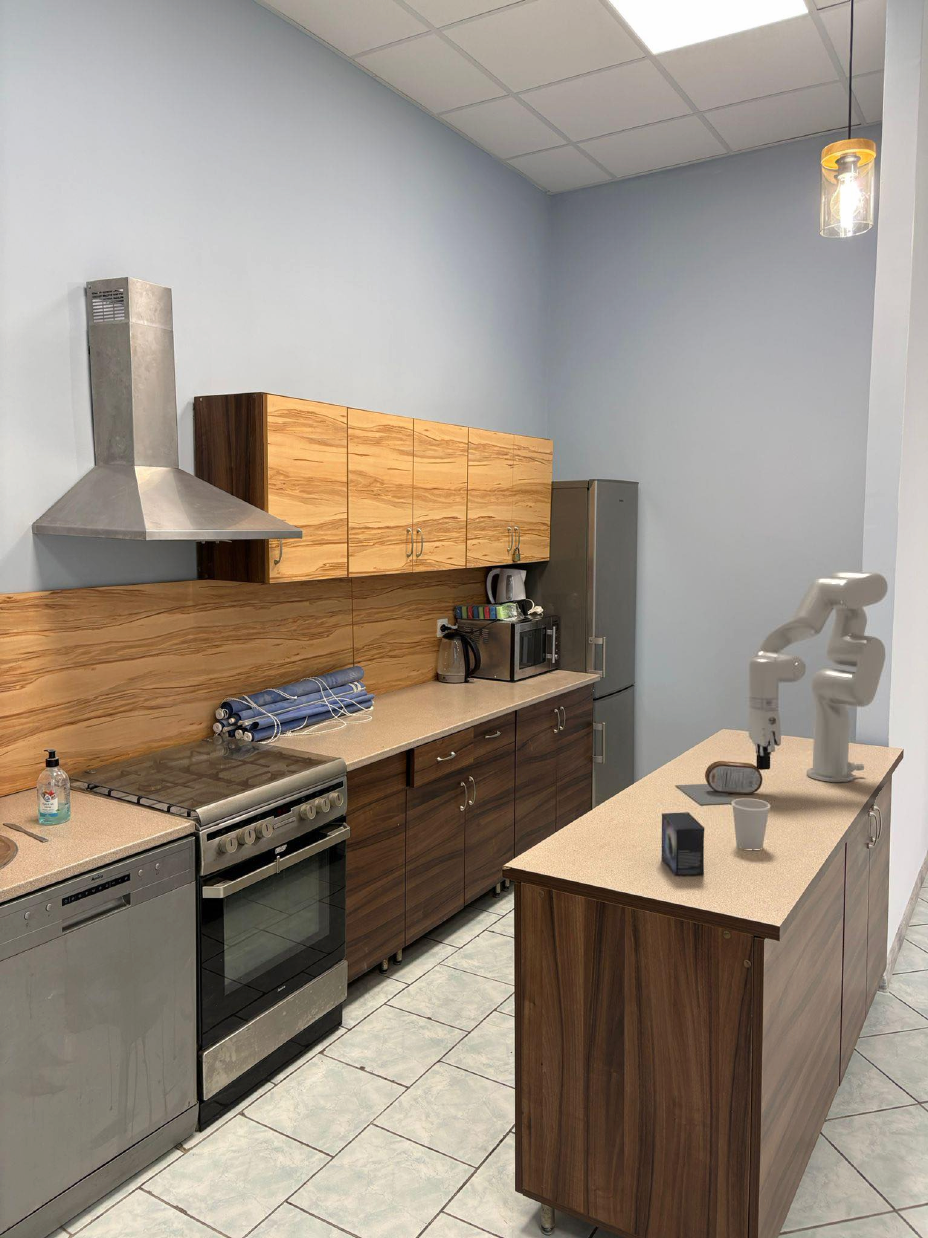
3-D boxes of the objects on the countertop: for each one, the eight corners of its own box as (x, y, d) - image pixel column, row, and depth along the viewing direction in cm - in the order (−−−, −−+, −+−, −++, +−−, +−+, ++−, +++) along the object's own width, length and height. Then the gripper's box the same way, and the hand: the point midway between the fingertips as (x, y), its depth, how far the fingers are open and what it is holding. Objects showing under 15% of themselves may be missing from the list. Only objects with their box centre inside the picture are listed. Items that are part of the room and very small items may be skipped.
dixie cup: (763, 855, 199) (765, 811, 198) (725, 848, 203) (727, 805, 202) (772, 844, 206) (774, 801, 205) (736, 838, 210) (737, 796, 210)
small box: (659, 859, 197) (659, 812, 196) (688, 858, 198) (689, 811, 197) (674, 877, 187) (675, 828, 186) (704, 876, 187) (706, 827, 186)
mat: (712, 784, 255) (712, 783, 255) (740, 803, 237) (740, 802, 237) (675, 786, 253) (675, 785, 253) (700, 805, 235) (700, 804, 235)
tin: (759, 793, 247) (762, 763, 246) (762, 796, 244) (764, 765, 243) (703, 789, 248) (705, 759, 247) (705, 792, 245) (707, 762, 244)
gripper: (790, 707, 238) (790, 775, 240) (763, 696, 252) (762, 760, 254) (764, 709, 237) (763, 777, 239) (738, 698, 251) (737, 762, 253)
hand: (763, 768), depth 247 cm, fingers closed
